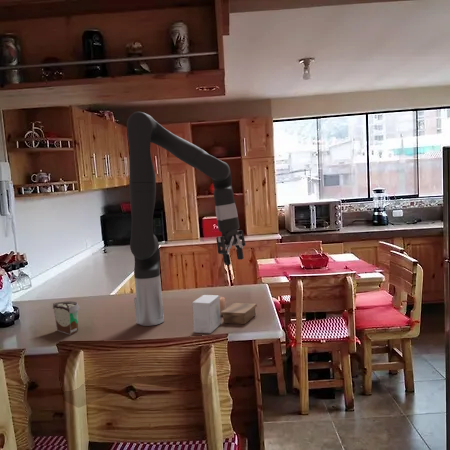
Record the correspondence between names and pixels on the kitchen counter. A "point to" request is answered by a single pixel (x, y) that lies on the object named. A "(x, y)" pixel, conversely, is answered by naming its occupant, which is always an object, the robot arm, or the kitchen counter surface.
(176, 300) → the kitchen counter surface
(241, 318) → the stand
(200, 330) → the skincare box
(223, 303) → the peach rounded knob
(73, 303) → the food container
